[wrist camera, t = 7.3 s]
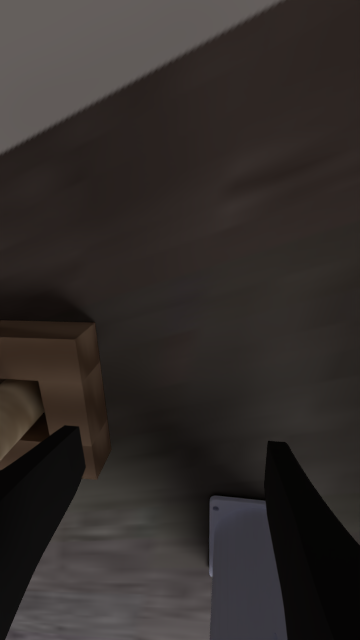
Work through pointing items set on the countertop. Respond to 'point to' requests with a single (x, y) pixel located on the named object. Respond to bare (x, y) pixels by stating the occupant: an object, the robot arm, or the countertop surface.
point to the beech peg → (18, 410)
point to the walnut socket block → (59, 384)
